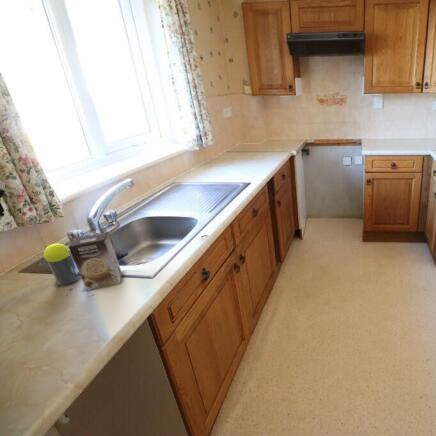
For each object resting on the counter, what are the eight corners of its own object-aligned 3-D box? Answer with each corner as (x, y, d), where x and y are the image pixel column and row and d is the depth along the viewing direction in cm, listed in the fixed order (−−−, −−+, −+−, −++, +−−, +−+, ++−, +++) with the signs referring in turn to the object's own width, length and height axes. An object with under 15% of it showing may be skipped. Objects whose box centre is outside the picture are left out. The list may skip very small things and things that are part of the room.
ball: (55, 268, 96) (46, 251, 94) (44, 264, 99) (35, 247, 96) (76, 258, 101) (68, 241, 98) (65, 254, 103) (57, 238, 101)
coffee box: (86, 293, 97) (66, 247, 91) (91, 281, 103) (72, 237, 96) (120, 285, 100) (103, 239, 94) (123, 274, 106) (107, 231, 99)
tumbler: (65, 289, 100) (53, 264, 96) (55, 285, 102) (43, 261, 98) (84, 279, 104) (73, 255, 101) (73, 275, 106) (63, 252, 103)
